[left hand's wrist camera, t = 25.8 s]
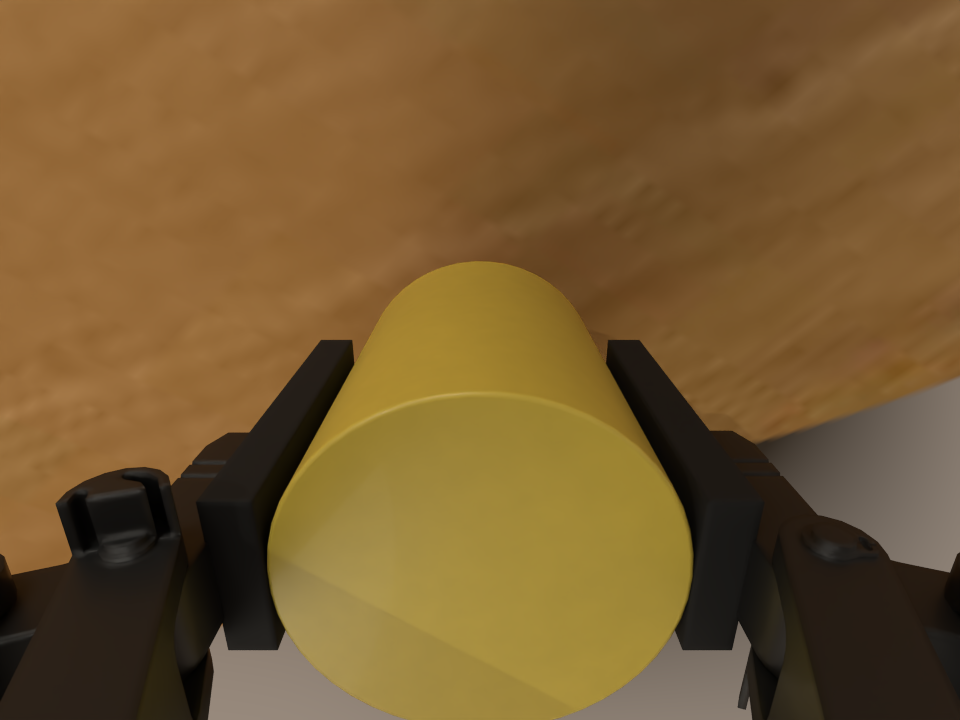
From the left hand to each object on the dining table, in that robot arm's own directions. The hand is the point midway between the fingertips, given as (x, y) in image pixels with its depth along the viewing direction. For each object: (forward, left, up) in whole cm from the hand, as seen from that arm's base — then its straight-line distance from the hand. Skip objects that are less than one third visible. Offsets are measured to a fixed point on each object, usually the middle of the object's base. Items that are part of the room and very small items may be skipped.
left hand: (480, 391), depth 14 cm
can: (0, 0, -2) cm, 2 cm away
